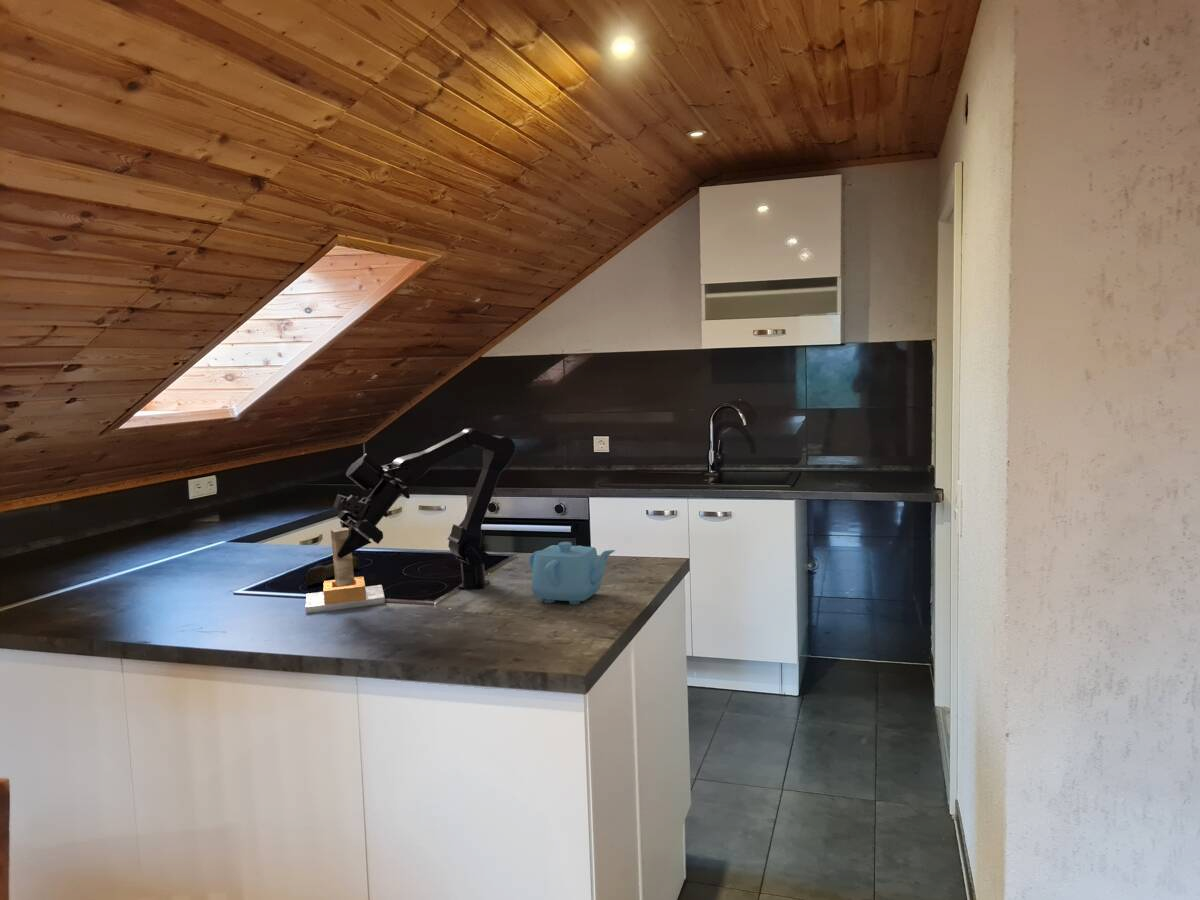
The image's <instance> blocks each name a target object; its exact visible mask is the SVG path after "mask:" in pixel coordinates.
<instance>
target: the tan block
mask: <svg viewBox="0 0 1200 900" xmlns="http://www.w3.org/2000/svg"><path fill="white" fill-rule="evenodd" d="M348 536H349V529H348V528H346V527H344V528H341V527H339V528H332V529H331V528H330V537H331V547H332V548H331V549H332V550H331V551H332V561H333V563H334V573H335V576H334V580H335V584H336V585H337V586H339V587H343V586H348V585H354V577H355V575H354V574H355V573H354V569H353V560H352V556H353V552H351V553H350V554H348V555H346V556H344V557H342V558H339V557H338V556H337V554H338V552H339V551H340V549H341V547H342V546H343V544H344V542H345V541H346V539H347V537H348Z"/></svg>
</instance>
